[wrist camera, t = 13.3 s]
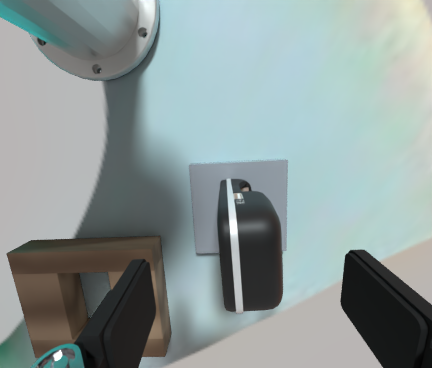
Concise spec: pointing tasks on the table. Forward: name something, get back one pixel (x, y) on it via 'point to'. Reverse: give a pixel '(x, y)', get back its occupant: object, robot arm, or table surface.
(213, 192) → the tile
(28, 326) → the holder
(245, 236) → the battery charger
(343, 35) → the table surface
